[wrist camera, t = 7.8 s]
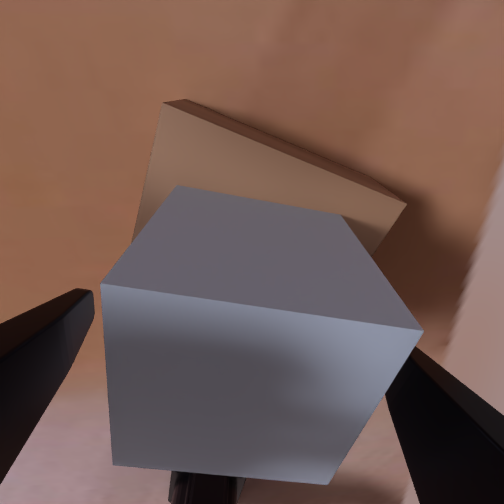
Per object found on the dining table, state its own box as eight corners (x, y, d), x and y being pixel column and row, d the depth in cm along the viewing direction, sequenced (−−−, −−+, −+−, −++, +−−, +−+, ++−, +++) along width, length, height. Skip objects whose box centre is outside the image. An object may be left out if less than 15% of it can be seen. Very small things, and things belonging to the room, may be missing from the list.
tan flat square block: (289, 311, 18) (298, 364, 15) (144, 266, 17) (116, 313, 13) (368, 175, 14) (407, 204, 11) (186, 98, 13) (162, 102, 9)
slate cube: (298, 333, 14) (327, 484, 8) (167, 315, 13) (112, 465, 8) (340, 214, 11) (424, 331, 6) (176, 184, 10) (100, 283, 5)
